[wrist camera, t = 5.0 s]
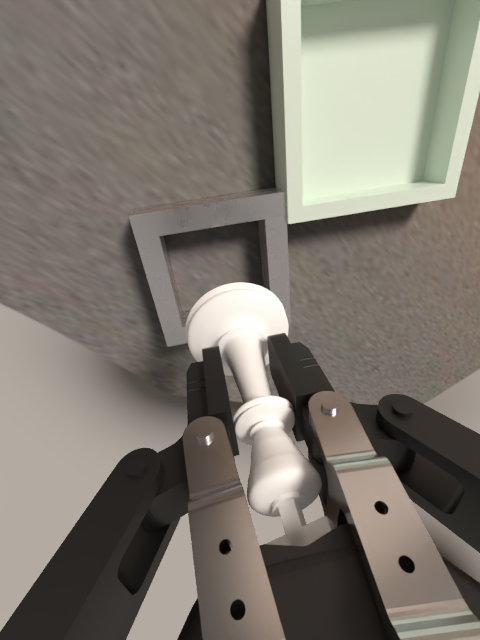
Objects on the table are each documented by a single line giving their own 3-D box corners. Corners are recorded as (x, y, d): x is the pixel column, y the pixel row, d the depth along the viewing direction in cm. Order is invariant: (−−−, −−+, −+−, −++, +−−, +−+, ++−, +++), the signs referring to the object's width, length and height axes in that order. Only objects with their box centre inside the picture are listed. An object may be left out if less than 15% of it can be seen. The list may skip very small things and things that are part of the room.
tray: (265, -12, 16) (279, -39, 14) (469, -32, 17) (515, -61, 15) (277, 215, 22) (288, 224, 20) (426, 192, 23) (454, 197, 21)
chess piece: (301, 336, 16) (445, 573, 7) (222, 382, 16) (266, 646, 8) (256, 260, 13) (396, 494, 5) (163, 320, 14) (137, 615, 5)
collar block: (134, 208, 21) (128, 215, 18) (275, 187, 21) (285, 191, 19) (168, 330, 26) (167, 346, 24) (282, 309, 27) (290, 323, 24)
